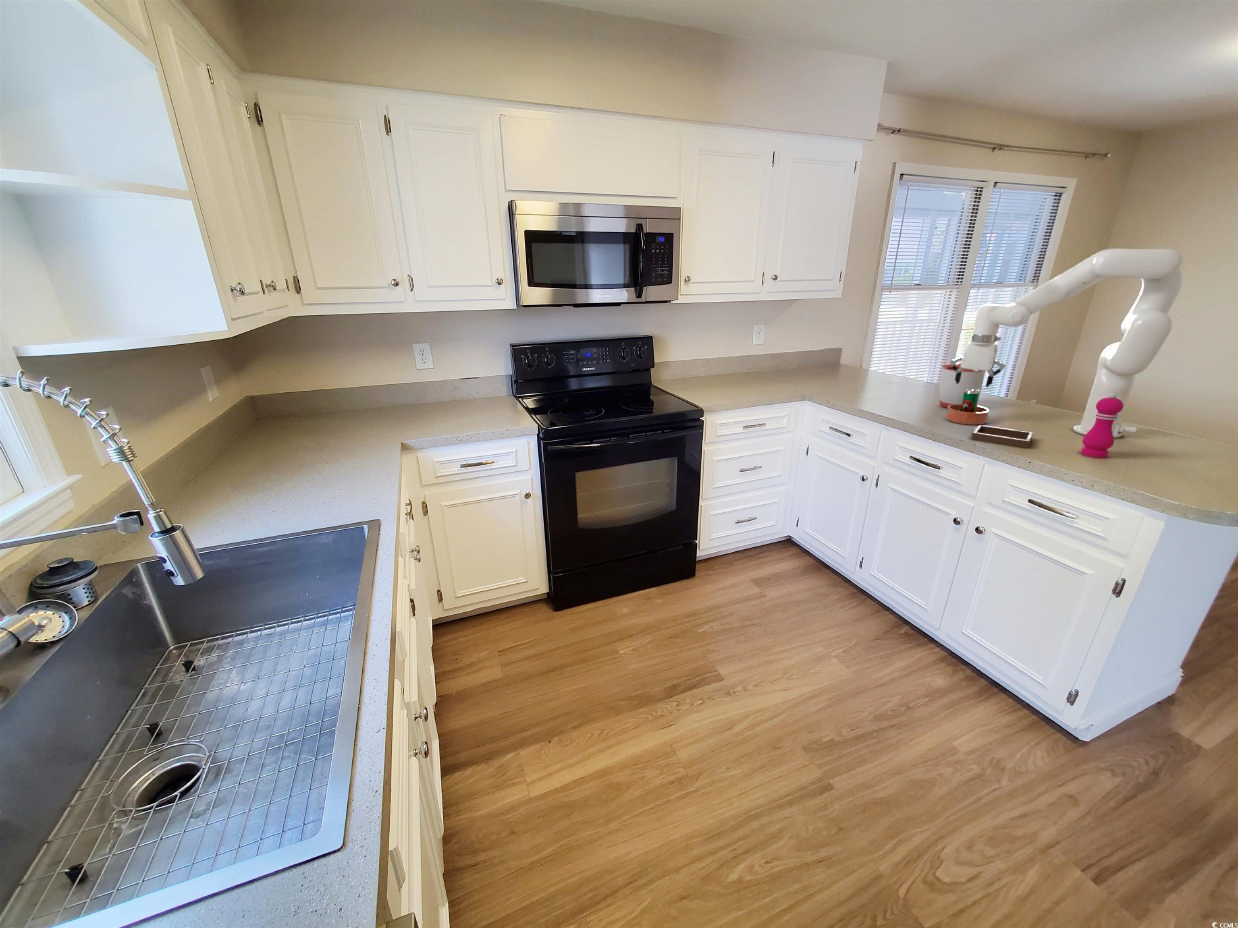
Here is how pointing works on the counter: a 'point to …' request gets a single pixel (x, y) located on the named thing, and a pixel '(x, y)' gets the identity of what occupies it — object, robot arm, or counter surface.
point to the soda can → (969, 400)
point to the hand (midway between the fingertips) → (972, 384)
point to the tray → (1002, 436)
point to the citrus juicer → (954, 392)
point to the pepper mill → (1102, 428)
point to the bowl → (967, 415)
